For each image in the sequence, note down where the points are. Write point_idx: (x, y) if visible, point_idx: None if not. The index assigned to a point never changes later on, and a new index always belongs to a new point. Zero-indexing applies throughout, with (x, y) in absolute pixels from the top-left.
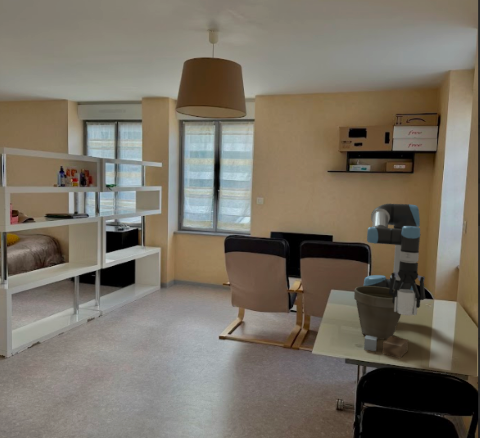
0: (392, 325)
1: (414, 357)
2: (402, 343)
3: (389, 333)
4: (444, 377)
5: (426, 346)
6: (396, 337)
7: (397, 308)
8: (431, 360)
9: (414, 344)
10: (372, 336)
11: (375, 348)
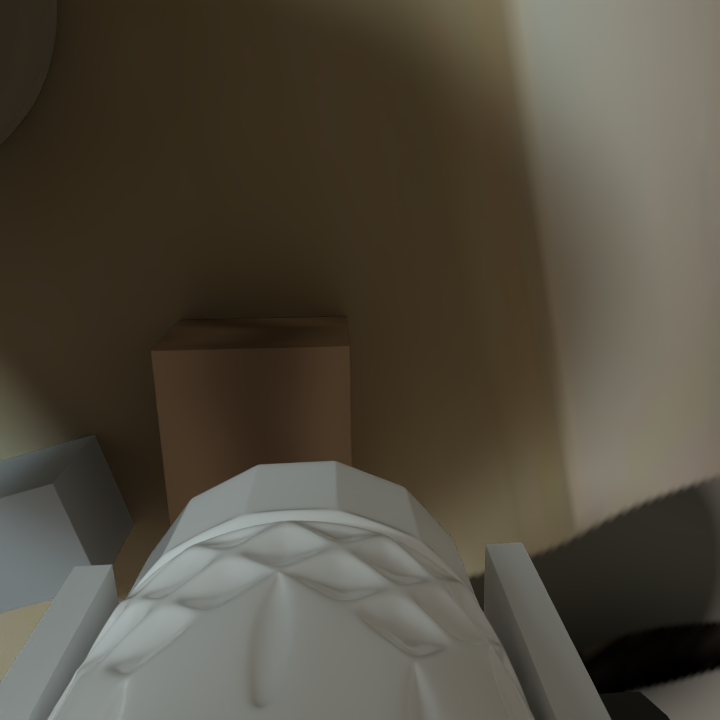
0: (21, 74)
1: (444, 433)
2: None
3: (38, 81)
4: (699, 655)
5: (472, 8)
6: (219, 354)
7: (96, 603)
8: (580, 401)
9: (347, 40)
10: (8, 503)
11: (123, 538)
